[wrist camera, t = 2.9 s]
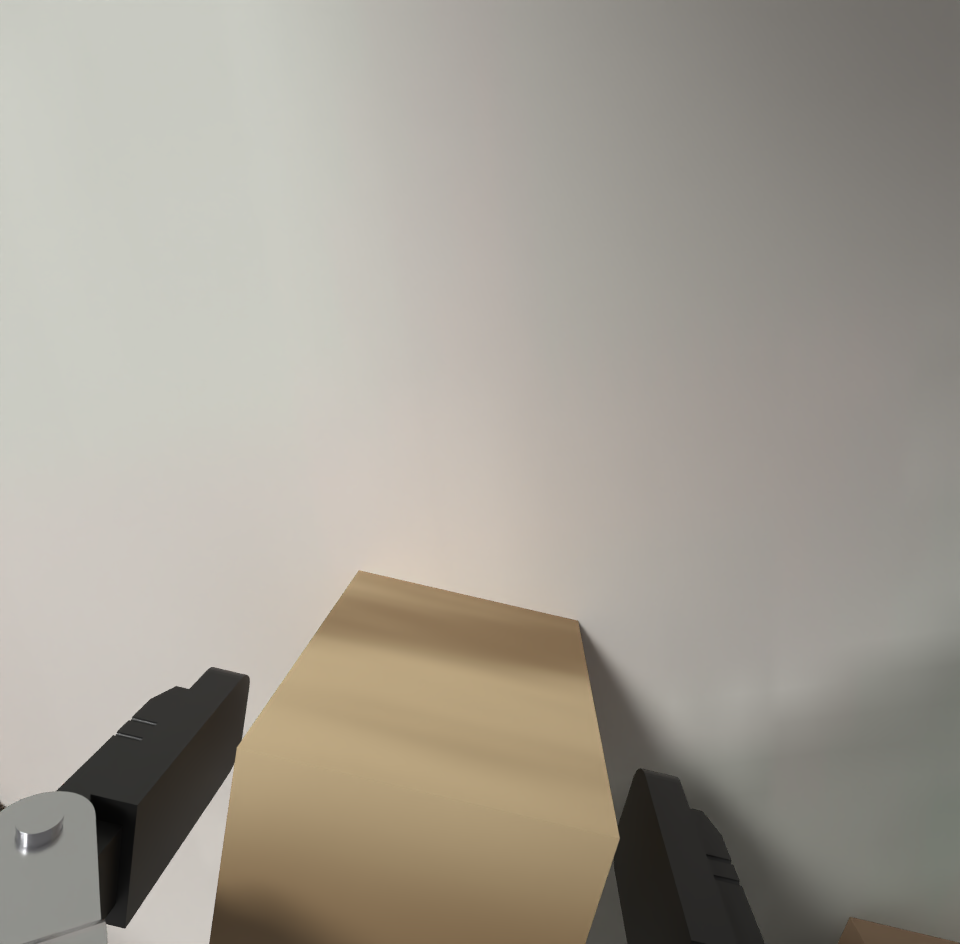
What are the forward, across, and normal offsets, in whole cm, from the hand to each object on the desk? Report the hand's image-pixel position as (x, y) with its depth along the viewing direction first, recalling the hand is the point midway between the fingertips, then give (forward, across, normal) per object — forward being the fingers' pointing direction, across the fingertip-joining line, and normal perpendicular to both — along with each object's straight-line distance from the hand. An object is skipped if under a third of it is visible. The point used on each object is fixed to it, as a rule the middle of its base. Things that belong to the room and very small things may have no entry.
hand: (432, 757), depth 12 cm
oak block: (+2, 0, 0) cm, 2 cm away
